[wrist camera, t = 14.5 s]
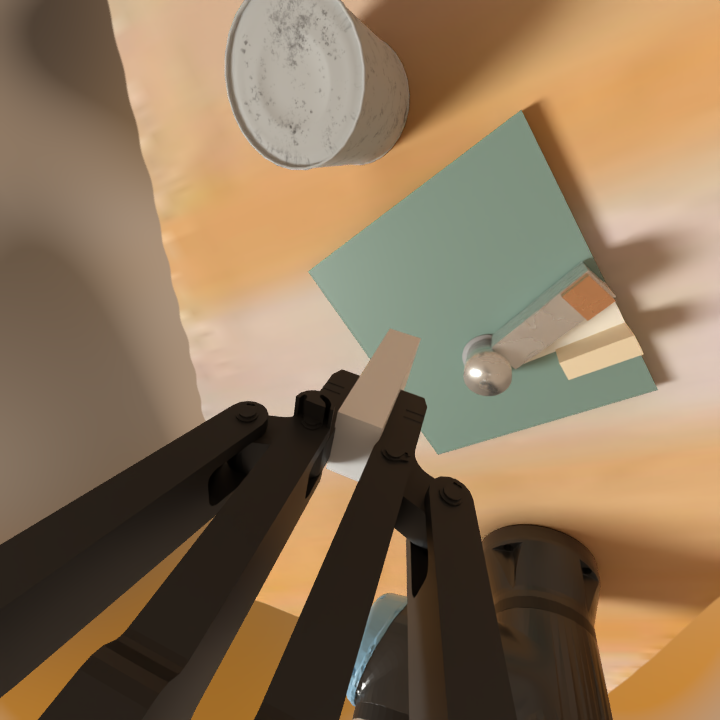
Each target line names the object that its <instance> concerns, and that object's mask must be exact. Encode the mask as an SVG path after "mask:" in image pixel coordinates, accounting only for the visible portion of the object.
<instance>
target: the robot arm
mask: <svg viewBox="0 0 720 720" xmlns="http://www.w3.org/2000/svg"><path fill="white" fill-rule="evenodd" d="M420 340H421V338H418V337H415V336H412V335H408V334H405V333H402V332H399V331H396V330H393V329H389V331H388V332H387V334H386V336H385V337H384V339H383V340H382V342H381V343H380V345H379V347H378V348H377V350H376V351H375V353H374V355H373V356H372V358H371V359H370V361H369V363H368V364H367V366H366V367H365V369H364V371H363V372H362V374H361V375H360V376H359V375H356V374H353V373H351V372H348V371H345V370H340V371H338V372H336V373H334V374H332V376H331V377H330V378H329V380H328V381H327V383H326V384H325V385H324V386H323V388H322V389H321V390H320V391H316V390H311V391H305V392H301V393H300V394H299V395H297V396H296V402H295V410H294V416H293V417H277V416H269V415H268V412H267V409H266V408H265V407H264V406H263V405H261V404H259V403H257V402H251V401H246V402H239V403H237V404H235V405H232V406H231V407H229V408H227V409H226V410H224V411H222V412H221V413H219V414H217V415H216V416H214V417H212V418H211V419H209V420H207V421H206V422H204V423H202V424H201V425H199V426H197V427H196V428H194V429H193V430H191V431H189V432H188V433H186V434H184V435H183V436H181V437H179V438H177V439H176V440H174V441H172V442H171V443H169V444H167V445H166V446H164V447H163V448H161V449H159V450H158V451H156V452H154V453H153V454H151V455H149V456H148V457H146V458H144V459H143V460H141V461H139V462H138V463H136V464H134V465H133V466H131V467H129V468H128V469H126V470H124V471H123V472H121V473H119V474H118V475H116V476H114V477H113V478H111V479H109V480H108V481H106V482H104V483H103V484H101V485H99V486H98V487H96V488H94V489H93V490H91V491H89V492H88V493H86V494H84V495H83V496H81V497H79V498H78V499H76V500H74V501H73V502H71V503H69V504H68V505H66V506H64V507H63V508H61V509H59V510H58V511H56V512H54V513H53V514H51V515H49V516H48V517H46V518H44V519H43V520H41V521H39V522H38V523H36V524H34V525H33V526H31V527H29V528H28V529H26V530H24V531H23V532H21V533H20V534H18V535H16V536H14V537H13V538H11V539H9V540H8V541H6V542H4V543H3V544H1V545H0V698H1V696H3V695H4V694H6V693H7V692H8V691H9V690H11V689H12V688H13V687H14V686H16V685H17V684H18V683H19V682H20V681H21V680H23V679H24V678H25V677H26V676H27V675H29V674H30V673H31V672H32V671H33V670H34V669H35V668H37V667H38V666H39V665H40V664H41V663H43V662H44V661H45V660H46V659H47V658H48V657H50V656H51V655H52V654H53V653H54V652H55V651H57V650H58V649H59V648H60V647H61V646H63V645H64V644H65V643H66V642H67V641H68V640H69V639H71V638H72V637H73V636H74V635H76V634H77V633H78V632H79V631H80V630H81V629H83V628H84V627H85V626H86V625H87V624H88V623H90V622H91V621H92V620H93V619H94V618H95V617H97V616H98V615H99V614H100V613H101V612H102V611H104V610H105V609H106V608H107V607H108V606H110V605H111V604H112V603H113V602H114V601H115V600H116V599H118V598H119V597H120V596H121V595H122V594H124V593H125V592H126V591H127V590H128V589H129V588H131V587H132V586H133V585H134V584H135V583H137V581H139V580H140V579H141V578H142V577H144V576H145V575H146V574H147V573H148V572H149V571H150V570H152V569H153V568H154V567H155V566H156V565H158V564H159V563H160V562H161V561H162V560H164V559H165V558H166V557H167V556H168V555H169V554H171V553H172V552H173V551H174V550H175V549H177V548H178V547H179V546H180V545H181V544H182V543H184V542H185V541H186V540H187V539H188V538H189V537H191V536H192V535H193V534H194V533H195V532H196V531H198V530H199V529H200V528H201V527H202V526H203V525H205V524H206V523H207V522H208V521H209V520H211V519H212V518H213V517H214V516H215V515H216V514H217V515H216V516H215V517H214V518H213V520H212V521H211V522H210V524H209V525H208V526H207V527H206V529H205V530H204V531H203V533H202V534H201V535H200V536H199V538H198V539H197V540H196V542H195V543H194V544H193V545H192V547H191V548H190V549H189V550H188V552H187V553H186V554H185V556H184V557H183V558H182V560H181V561H180V562H179V563H178V565H177V566H176V567H175V568H174V570H173V571H172V572H171V574H170V575H169V576H168V577H167V579H166V580H165V581H164V583H163V584H162V585H161V587H160V588H159V589H158V590H157V592H156V593H155V594H154V595H153V597H152V598H151V599H150V601H149V602H148V603H147V605H146V606H145V607H144V608H143V609H142V611H141V612H140V613H139V615H138V616H137V617H136V618H135V620H134V621H133V622H132V624H131V625H130V626H129V628H128V629H127V630H126V631H125V632H124V633H123V634H122V635H121V636H120V637H119V638H118V639H116V640H114V641H112V642H110V643H108V644H105V645H103V646H102V647H101V648H100V649H99V650H97V651H96V652H95V653H94V654H92V655H91V656H90V658H89V659H88V660H87V661H86V662H85V663H84V664H83V665H82V666H81V667H80V669H79V670H78V671H77V672H76V673H75V675H74V676H73V677H72V679H71V680H70V681H69V682H68V683H67V685H66V686H65V687H64V688H63V690H62V691H61V692H60V693H59V695H58V696H57V697H56V698H55V700H54V701H53V702H52V703H51V704H50V705H49V707H48V708H47V709H46V710H45V712H44V713H43V714H42V715H41V717H40V718H39V719H38V720H191V718H192V716H193V713H194V711H195V709H196V707H197V705H198V704H199V702H200V700H201V698H202V696H203V694H204V692H205V690H206V689H207V687H208V685H209V683H210V682H211V680H212V678H213V676H214V674H215V672H216V670H217V669H218V667H219V665H220V663H221V661H222V660H223V658H224V656H225V654H226V652H227V650H228V649H229V647H230V645H231V643H232V641H233V639H234V637H235V635H236V634H237V632H238V630H239V628H240V627H241V625H242V623H243V621H244V619H245V617H246V615H247V614H248V612H249V610H250V608H251V606H252V604H253V603H254V601H255V599H256V597H257V595H258V593H259V592H260V590H261V588H262V586H263V584H264V582H265V581H266V579H267V577H268V575H269V573H270V571H271V570H272V568H273V566H274V564H275V562H276V560H277V559H278V557H279V555H280V553H281V551H282V549H283V548H284V546H285V544H286V542H287V540H288V538H289V537H290V535H291V533H292V531H293V529H294V527H295V526H296V524H297V522H298V520H299V518H300V516H301V515H302V513H303V511H304V509H305V507H306V505H307V504H308V502H309V500H310V498H311V496H312V494H313V493H314V491H315V489H316V487H317V485H318V483H319V482H320V479H321V475H322V470H323V468H324V466H325V465H326V463H327V467H326V469H328V470H331V471H333V472H336V473H338V474H341V475H343V476H345V477H348V478H350V479H353V480H355V481H358V484H357V486H356V488H355V491H354V493H353V495H352V497H351V500H350V502H349V504H348V507H347V509H346V511H345V514H344V516H343V518H342V520H341V523H340V525H339V527H338V530H337V532H336V534H335V536H334V539H333V541H332V543H331V546H330V548H329V550H328V553H327V555H326V557H325V559H324V562H323V564H322V566H321V569H320V571H319V573H318V576H317V578H316V580H315V582H314V585H313V587H312V589H311V592H310V594H309V596H308V599H307V601H306V603H305V605H304V608H303V610H302V612H301V615H300V617H299V619H298V622H297V624H296V626H295V629H294V631H293V633H292V635H291V638H290V640H289V642H288V645H287V647H286V649H285V651H284V654H283V656H282V658H281V661H280V663H279V665H278V668H277V670H276V672H275V674H274V677H273V679H272V681H271V684H270V686H269V688H268V691H267V693H266V695H265V697H264V700H263V702H262V704H261V706H260V709H259V711H258V713H257V715H256V717H255V719H254V720H339V718H340V715H341V711H342V708H343V704H344V701H345V697H346V695H347V698H348V700H349V701H350V702H351V704H352V705H353V706H356V707H355V711H354V715H353V719H352V720H613V718H612V713H611V709H610V703H609V698H608V694H607V689H606V684H605V679H604V674H603V669H602V664H601V659H600V654H599V649H598V645H597V640H596V634H595V629H594V624H595V618H596V611H597V605H598V599H599V592H600V577H599V573H598V569H597V564H596V561H595V559H594V557H593V556H592V554H591V553H590V552H589V550H588V549H587V548H586V547H585V546H583V545H582V544H581V543H580V542H578V541H577V540H575V539H573V538H572V537H570V536H568V535H566V534H564V533H561V532H559V531H556V530H553V529H549V528H545V527H540V526H533V525H514V526H508V527H503V528H500V529H498V530H495V531H493V532H492V533H490V534H489V535H487V536H486V537H485V538H484V540H483V541H481V536H480V531H479V526H478V521H477V516H476V511H475V506H474V501H473V498H472V495H471V493H470V491H469V490H468V489H467V488H466V486H465V485H464V484H462V483H461V482H459V481H458V480H456V479H453V478H451V477H438V478H435V479H434V478H433V477H431V476H430V475H429V474H427V473H426V472H425V471H424V470H422V468H421V467H420V466H419V465H418V463H417V461H416V458H415V449H416V445H417V442H418V438H419V435H420V431H421V428H422V424H423V421H424V417H425V414H426V410H427V405H426V401H425V398H423V397H420V396H417V395H415V394H412V393H409V392H406V391H404V388H405V386H406V383H407V380H408V377H409V374H410V371H411V368H412V364H413V361H414V358H415V355H416V352H417V349H418V346H419V343H420ZM327 461H328V462H327ZM394 528H395V529H396V530H398V531H399V532H400V533H401V534H402V535H404V536H405V537H406V538H407V539H406V557H407V597H406V596H402V595H398V594H394V593H386V594H384V595H382V596H380V597H379V598H378V599H377V600H376V602H374V604H373V605H372V603H373V600H374V596H375V593H376V589H377V586H378V582H379V579H380V575H381V572H382V568H383V565H384V561H385V558H386V554H387V551H388V547H389V544H390V540H391V537H392V533H393V530H394Z"/></svg>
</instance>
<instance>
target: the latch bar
mask: <svg viewBox="0 0 720 720" xmlns="http://www.w3.org/2000/svg"><path fill="white" fill-rule="evenodd" d="M614 298H616V295H615V294H614V293H613V292H612V290H611V289H610V288H609V287H608V286H607V285H606V284H605V283H604V282H603V281H602V280H601V279H600V278H599V277H598V276H597V275H596V274H595V273H593V272H592V271H591V270H590V269H589V268H588V267H587V266H586V265H585V264H584V263H583V262H581V263H579V264H578V265H577V266H576V267H575V268H573V269H572V270H571V271H570V272H568V273H567V274H566V275H565V276H564V277H562V278H561V279H560V280H559V281H558V282H556V283H555V284H554V285H553V286H551V287H550V288H549V289H548V290H547V291H545V292H544V293H543V294H542V295H541V296H539V297H538V298H537V299H536V300H534V301H533V302H532V303H531V304H530V305H528V306H527V307H526V308H525V309H524V310H522V311H521V312H520V313H519V314H517V315H516V316H515V317H514V318H513V319H511V320H510V321H509V322H508V323H507V324H505V325H504V326H503V327H502V328H500V329H499V330H498V331H497V332H496V333H494V334H493V335H492V339H482V340H479V341H477V342H475V343H474V344H472V345H471V346H470V348H469V349H468V352H467V356H466V362H465V368H464V374H463V378H464V382H465V384H466V386H467V387H468V388H469V389H470V390H471V391H472V392H474V393H476V394H478V395H482V396H495V395H499V394H501V393H503V392H504V391H505V390H506V389H507V388H508V387H509V386H510V384H511V381H512V368H511V366H512V367H513V368H515V369H517V368H518V367H520V366H521V365H523V364H524V363H525V362H527V361H528V360H530V359H531V358H532V357H534V356H535V355H536V354H538V353H539V352H541V351H542V350H543V349H545V348H546V347H548V346H549V345H550V344H552V343H553V342H554V341H556V340H557V339H559V338H560V337H561V336H563V335H564V334H566V333H567V332H568V331H570V330H571V329H573V328H574V327H575V326H577V325H578V324H579V323H581V322H582V321H584V320H585V319H586V320H587V321H589V320H590V319H591V318H593V317H594V316H596V315H597V314H598V313H600V312H601V311H603V310H604V309H605V308H607V307H608V306H610V305H611V304H612V303H614V302H615V299H614Z"/></svg>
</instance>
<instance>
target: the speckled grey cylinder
mask: <svg viewBox="0 0 720 720" xmlns="http://www.w3.org/2000/svg"><path fill="white" fill-rule="evenodd" d="M225 81H226V88H227V94H228V99H229V102H230V105H231V108H232V112H233V115H234V117H235V119H236V121H237V123H238V125H239V127H240V129H241V131H242V133H243V134H244V136H245V137H246V139H247V140H248V141H249V143H250V144H251V146H252V147H253V148H254V149H256V150H257V151H258V152H259V153H260V154H261V155H262V156H263V157H264V158H266V159H267V160H269V161H271V162H272V163H274V164H276V165H277V166H280V167H284V168H287V169H290V170H308V169H312V168H317V167H329V166H341V165H364V164H368V163H371V162H374V161H376V160H377V159H379V158H381V157H383V156H384V155H385V154H386V153H387V152H388V151H389V150H390V149H392V147H393V146H394V144H395V143H396V142H397V140H398V139H399V137H400V135H401V133H402V131H403V128H404V126H405V123H406V119H407V115H408V111H409V97H410V94H409V86H408V79H407V76H406V73H405V70H404V67H403V64H402V63H401V61H400V59H399V58H398V56H397V54H396V53H395V51H394V50H393V49H392V48H391V47H390V46H389V45H388V44H387V43H386V42H384V41H382V40H381V39H379V38H378V37H377V36H376V35H375V34H374V33H373V32H372V31H371V30H370V29H369V28H368V27H367V26H366V25H365V24H363V23H362V22H361V21H360V20H359V19H358V18H357V17H356V16H355V15H354V14H353V13H352V12H351V11H350V10H349V9H348V8H346V7H345V5H344V3H343V2H342V1H341V0H244V1H243V3H242V5H241V6H240V8H239V9H238V11H237V13H236V14H235V17H234V20H233V23H232V25H231V28H230V31H229V34H228V40H227V46H226V51H225Z"/></svg>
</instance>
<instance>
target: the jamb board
mask: <svg viewBox="0 0 720 720" xmlns="http://www.w3.org/2000/svg"><path fill="white" fill-rule="evenodd" d="M581 262H583V263H584V264H585V265H586V266H587V267H588V268H589V269H590V270H591V271H592V272H593V273H595V274H596V275H597V276H598V277H599V278H600V279H601V280H602V281H603V282H604V283H605V284H606V282H605V280H604V278H603V276H602V274H601V272H600V270H599V268H598V266H597V264H596V262H595V260H594V258H593V256H592V254H591V252H590V250H589V248H588V246H587V244H586V242H585V239H584V237H583V235H582V233H581V231H580V229H579V227H578V225H577V223H576V221H575V219H574V217H573V215H572V213H571V211H570V209H569V207H568V205H567V203H566V201H565V198H564V196H563V194H562V192H561V190H560V188H559V186H558V184H557V182H556V180H555V178H554V176H553V174H552V172H551V170H550V168H549V166H548V164H547V162H546V160H545V157H544V155H543V153H542V151H541V149H540V147H539V145H538V143H537V141H536V139H535V137H534V135H533V133H532V131H531V129H530V127H529V125H528V123H527V121H526V119H525V117H524V114H523V112H522V110H520V111H519V112H518V113H517V114H515V115H514V116H513V117H511V118H510V119H509V120H507V121H506V122H505V123H503V124H502V125H501V126H499V127H498V128H497V129H495V130H494V131H493V132H491V133H490V134H489V135H487V136H486V137H485V138H484V139H482V140H481V141H480V142H478V143H477V144H476V145H474V146H473V147H472V148H470V149H469V150H468V151H466V152H465V153H464V154H462V155H461V156H460V157H458V158H457V159H456V160H455V161H453V162H452V163H451V164H449V165H448V166H447V167H445V168H444V169H443V170H441V171H440V172H439V173H437V174H436V175H435V176H433V177H432V178H431V179H429V180H428V181H427V182H426V183H424V184H423V185H422V186H420V187H419V188H418V189H416V190H415V191H414V192H412V193H411V194H410V195H408V196H407V197H406V198H404V199H403V200H402V201H400V202H399V203H398V204H397V205H395V206H394V207H393V208H391V209H390V210H389V211H387V212H386V213H385V214H383V215H382V216H381V217H379V218H378V219H377V220H375V221H374V222H373V223H371V224H370V225H369V226H367V227H366V228H365V229H364V230H362V231H361V232H360V233H358V234H357V235H356V236H354V237H353V238H352V239H350V240H349V241H348V242H346V243H345V244H344V245H342V246H341V247H340V248H338V249H337V250H336V251H335V252H333V253H332V254H331V255H329V256H328V257H327V258H325V259H324V260H323V261H321V262H320V263H319V264H317V265H316V266H315V267H313V268H312V269H311V270H309V271H308V272H309V274H310V275H311V276H312V278H313V279H314V281H315V282H316V284H317V285H318V286H319V288H320V289H321V291H322V292H323V293H324V295H325V296H326V298H327V299H328V300H329V302H330V303H331V305H332V306H333V307H334V309H335V310H336V312H337V313H338V315H339V316H340V317H341V319H342V320H343V322H344V323H345V324H346V326H347V327H348V329H349V330H350V331H351V333H352V334H353V336H354V337H355V338H356V340H357V341H358V343H359V344H360V346H361V347H362V348H363V350H364V351H365V353H366V354H367V355H368V357H369V358H370V359H371V358H372V356H373V355H374V353H375V351H376V350H377V348H378V347H379V345H380V343H381V342H382V340H383V339H384V337H385V336H386V334H387V332H388V331H389V329H393V330H396V331H399V332H402V333H405V334H408V335H412V336H415V337H418V338H421V340H420V343H419V346H418V349H417V352H416V355H415V358H414V361H413V364H412V368H411V371H410V374H409V377H408V380H407V383H406V386H405V388H404V391H406V392H409V393H412V394H415V395H417V396H420V397H423V398H425V401H426V405H427V410H426V414H425V417H424V421H423V424H422V428H421V431H422V433H423V434H424V436H425V437H426V439H427V440H428V441H429V443H430V444H431V446H432V447H433V448H434V450H435V451H436V453H437V454H438V455H439V454H442V453H445V452H449V451H452V450H456V449H459V448H462V447H466V446H469V445H473V444H476V443H479V442H483V441H486V440H490V439H493V438H496V437H500V436H503V435H506V434H510V433H513V432H517V431H520V430H523V429H527V428H530V427H534V426H537V425H540V424H544V423H547V422H551V421H554V420H557V419H561V418H564V417H567V416H571V415H574V414H578V413H581V412H584V411H588V410H591V409H595V408H598V407H601V406H605V405H608V404H612V403H615V402H618V401H622V400H625V399H629V398H632V397H635V396H639V395H642V394H645V393H649V392H652V391H656V390H658V389H657V387H656V385H655V383H654V381H653V379H652V377H651V375H650V373H649V371H648V369H647V367H646V364H645V362H644V360H643V358H642V356H641V355H643V354H644V353H643V351H642V349H641V347H640V345H639V343H638V341H637V339H636V337H635V335H634V334H633V332H632V331H631V330H630V328H629V327H628V325H627V324H626V323H625V321H624V319H623V317H622V315H621V313H620V311H619V309H618V307H617V305H616V303H615V302H614V303H612V304H611V305H610V306H608V307H607V308H605V309H604V310H603V311H601V312H600V313H598V314H597V315H596V316H594V317H593V318H591V319H590V320H589V321H587V320H586V319H585V320H584V321H582V322H581V323H579V324H578V325H577V326H575V327H574V328H573V329H571V330H570V331H568V332H567V333H566V334H564V335H563V336H561V337H560V338H559V339H557V340H556V341H554V342H553V343H552V344H550V345H549V346H548V347H546V348H545V349H543V350H542V351H541V352H539V353H538V354H536V355H535V356H534V357H532V358H531V359H530V360H528V361H527V362H525V363H524V364H523V365H521V366H520V367H518V368H517V369H515V368H513V367H512V366H511V368H512V381H511V384H510V386H509V387H508V388H507V389H506V390H505V391H504V392H503V393H501V394H499V395H495V396H482V395H478V394H476V393H474V392H472V391H471V390H470V389H469V388H468V387H467V386H466V384H465V382H464V378H463V374H464V368H465V362H466V356H467V352H468V349H469V348H470V346H471V345H472V344H474V343H475V342H477V341H479V340H482V339H492V335H493V334H494V333H496V332H497V331H498V330H499V329H500V328H502V327H503V326H504V325H505V324H507V323H508V322H509V321H510V320H511V319H513V318H514V317H515V316H516V315H517V314H519V313H520V312H521V311H522V310H524V309H525V308H526V307H527V306H528V305H530V304H531V303H532V302H533V301H534V300H536V299H537V298H538V297H539V296H541V295H542V294H543V293H544V292H545V291H547V290H548V289H549V288H550V287H551V286H553V285H554V284H555V283H556V282H558V281H559V280H560V279H561V278H562V277H564V276H565V275H566V274H567V273H568V272H570V271H571V270H572V269H573V268H575V267H576V266H577V265H578V264H579V263H581ZM606 285H607V284H606Z"/></svg>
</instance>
